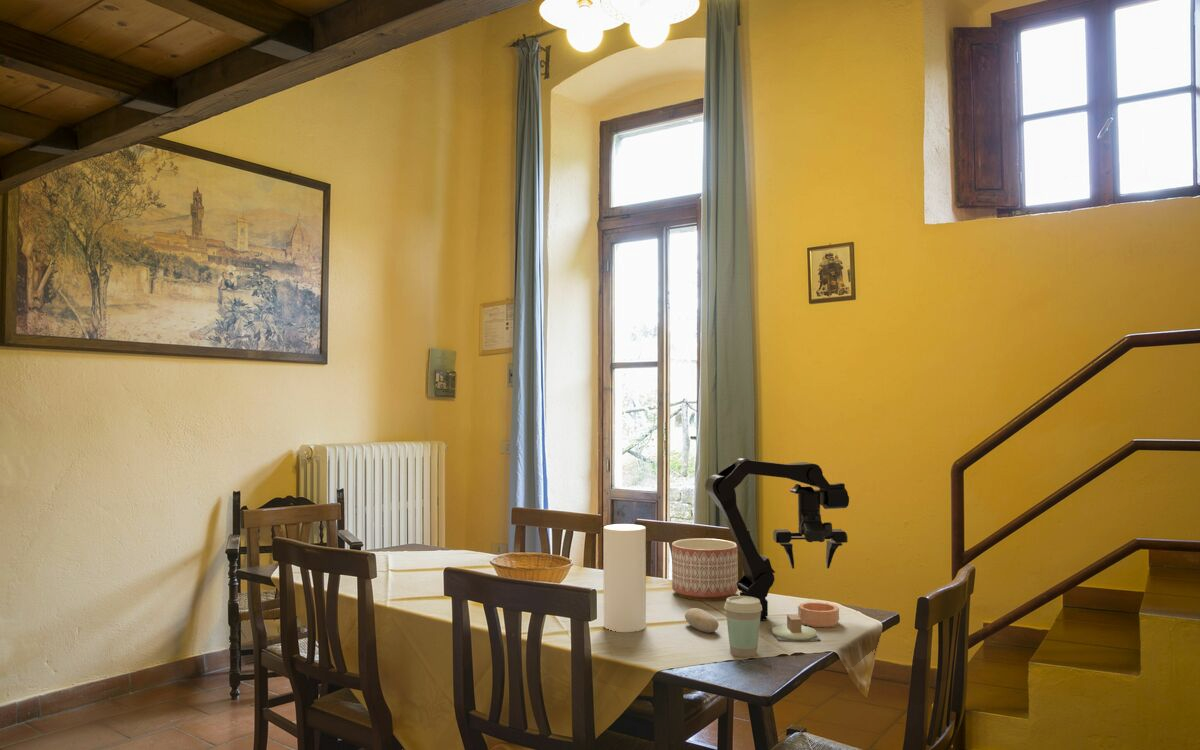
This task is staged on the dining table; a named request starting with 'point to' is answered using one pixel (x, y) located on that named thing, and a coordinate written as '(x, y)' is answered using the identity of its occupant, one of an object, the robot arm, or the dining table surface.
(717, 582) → the planter
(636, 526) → the tall pillar cylinder
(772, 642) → the dining table surface
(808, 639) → the mat
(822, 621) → the bowl
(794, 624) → the lid
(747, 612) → the coffee cup
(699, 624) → the stone
